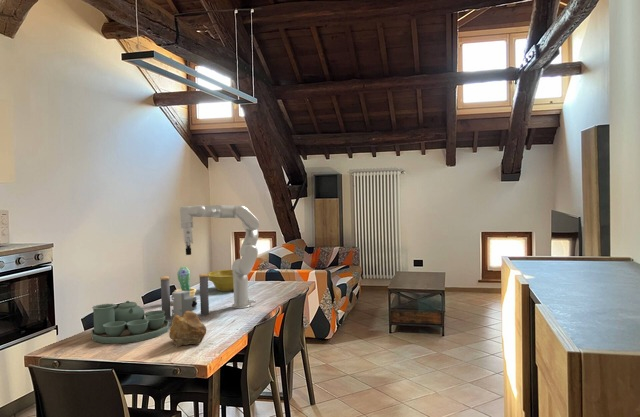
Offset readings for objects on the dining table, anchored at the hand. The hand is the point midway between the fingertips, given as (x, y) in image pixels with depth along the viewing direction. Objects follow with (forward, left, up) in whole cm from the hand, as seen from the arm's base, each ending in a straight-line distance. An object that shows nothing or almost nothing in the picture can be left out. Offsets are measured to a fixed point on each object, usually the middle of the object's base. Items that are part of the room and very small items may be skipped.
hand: (188, 254), depth 297 cm
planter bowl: (-31, -70, -38) cm, 85 cm away
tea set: (+32, +32, -38) cm, 59 cm away
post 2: (-8, +6, -37) cm, 39 cm away
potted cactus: (+2, -38, -38) cm, 54 cm away
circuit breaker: (+3, +6, -38) cm, 38 cm away
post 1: (+15, +6, -37) cm, 41 cm away
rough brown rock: (+2, +63, -38) cm, 74 cm away
